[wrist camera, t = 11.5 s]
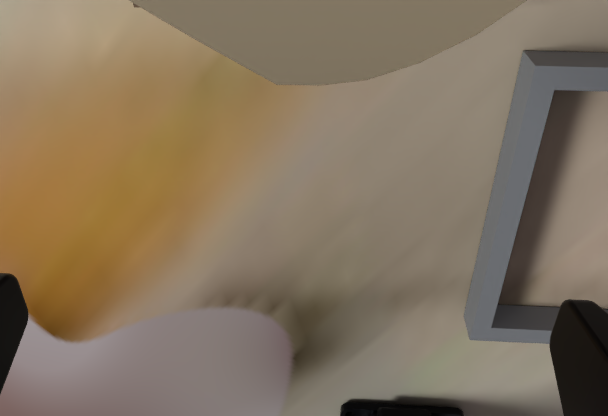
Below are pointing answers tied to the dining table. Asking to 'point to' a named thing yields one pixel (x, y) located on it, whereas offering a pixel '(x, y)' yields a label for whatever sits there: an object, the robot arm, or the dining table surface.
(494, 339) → the frame
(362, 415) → the robot arm
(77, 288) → the dining table surface
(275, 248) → the dining table surface
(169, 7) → the handle
